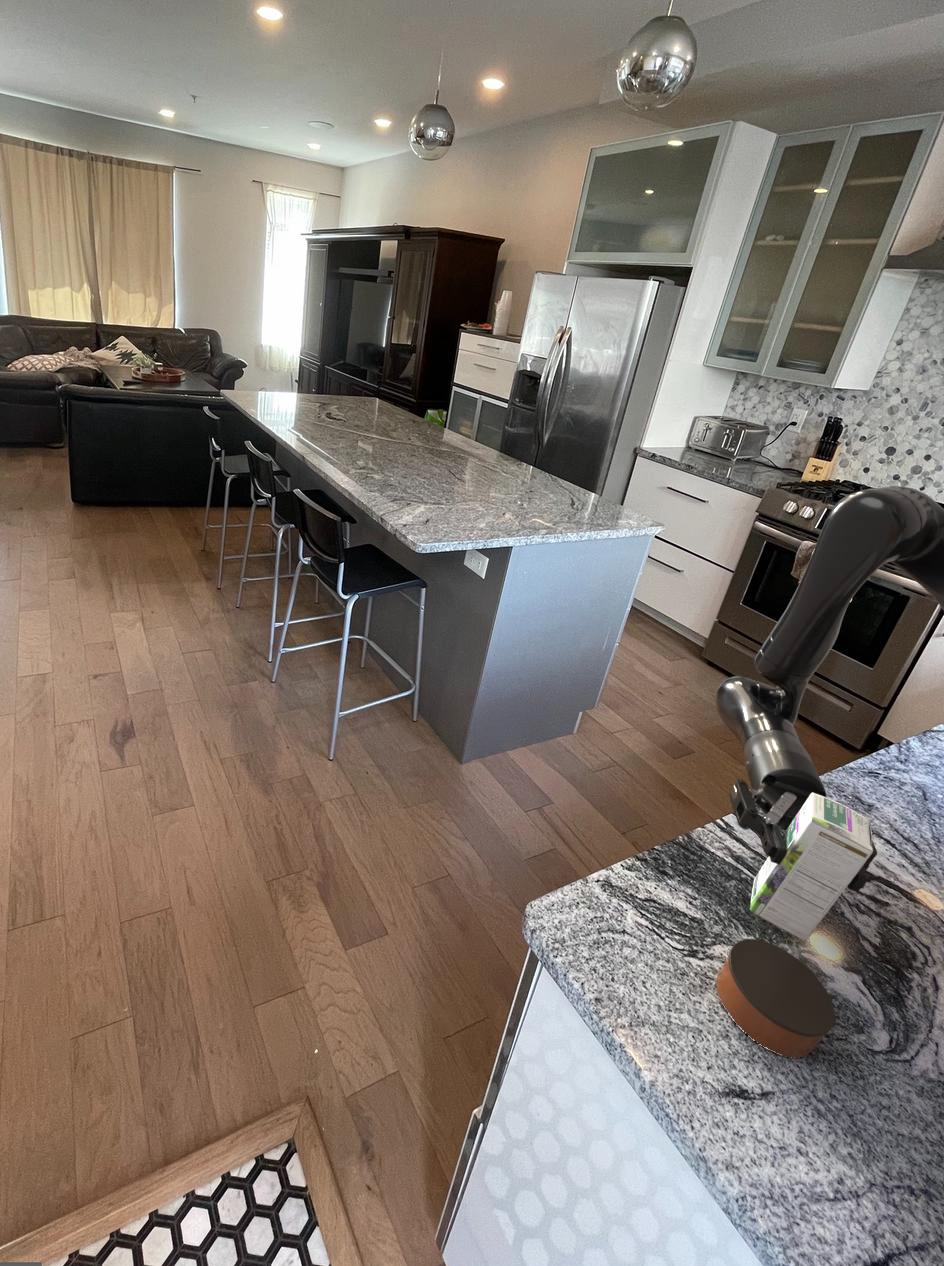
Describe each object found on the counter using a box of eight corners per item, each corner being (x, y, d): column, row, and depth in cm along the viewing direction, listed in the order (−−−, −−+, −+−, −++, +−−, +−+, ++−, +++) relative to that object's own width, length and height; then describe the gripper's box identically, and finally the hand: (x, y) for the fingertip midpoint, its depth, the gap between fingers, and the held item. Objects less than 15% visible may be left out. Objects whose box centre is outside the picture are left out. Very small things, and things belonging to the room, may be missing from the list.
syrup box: (752, 878, 75) (808, 788, 68) (808, 908, 72) (872, 817, 66) (748, 911, 70) (808, 818, 64) (808, 945, 68) (876, 851, 61)
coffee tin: (743, 949, 69) (758, 925, 67) (833, 1030, 62) (852, 1005, 60) (696, 987, 64) (711, 962, 62) (788, 1079, 57) (807, 1054, 56)
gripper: (732, 731, 81) (758, 820, 66) (858, 769, 77) (915, 873, 63) (710, 776, 84) (731, 870, 69) (830, 815, 80) (879, 923, 66)
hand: (818, 871), depth 66 cm, fingers closed on syrup box, 7 cm apart
